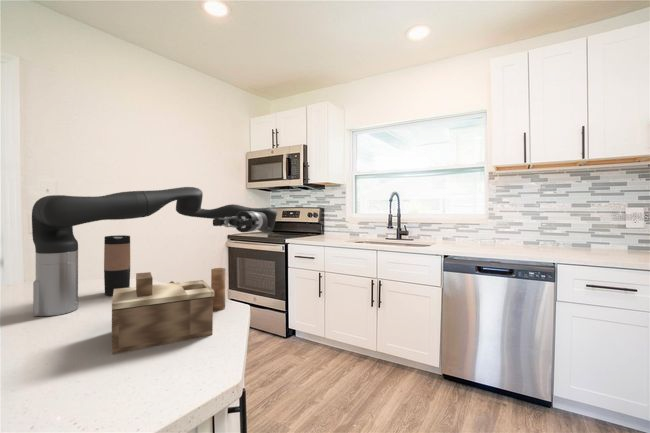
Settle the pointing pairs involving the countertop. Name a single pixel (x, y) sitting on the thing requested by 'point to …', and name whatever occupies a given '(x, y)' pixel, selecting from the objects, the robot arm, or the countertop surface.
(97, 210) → the robot arm
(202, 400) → the countertop surface
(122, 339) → the wooden box
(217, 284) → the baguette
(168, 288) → the lid
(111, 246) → the travel mug
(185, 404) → the countertop surface
